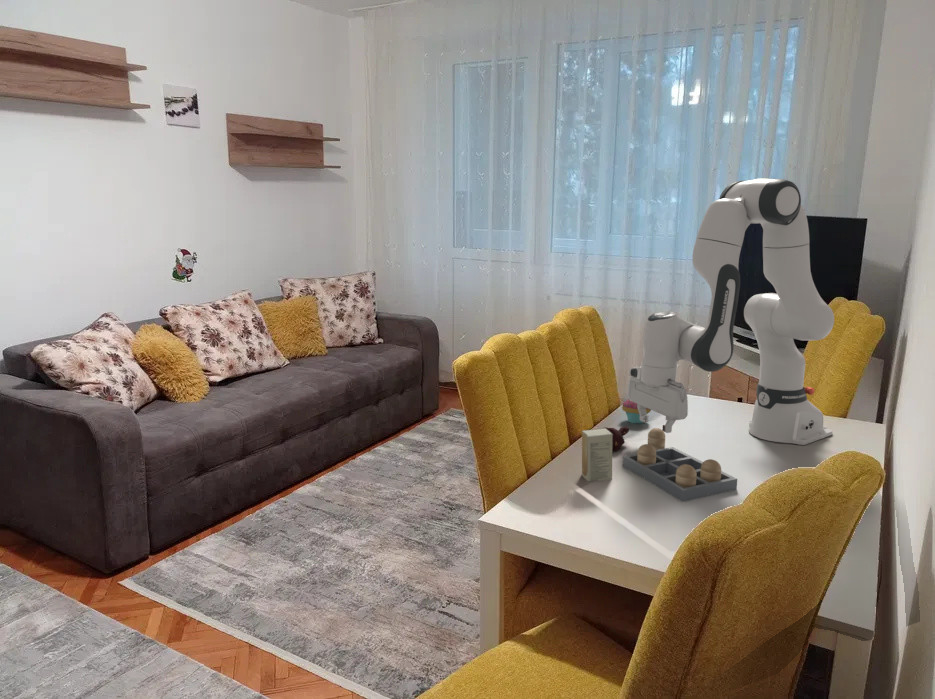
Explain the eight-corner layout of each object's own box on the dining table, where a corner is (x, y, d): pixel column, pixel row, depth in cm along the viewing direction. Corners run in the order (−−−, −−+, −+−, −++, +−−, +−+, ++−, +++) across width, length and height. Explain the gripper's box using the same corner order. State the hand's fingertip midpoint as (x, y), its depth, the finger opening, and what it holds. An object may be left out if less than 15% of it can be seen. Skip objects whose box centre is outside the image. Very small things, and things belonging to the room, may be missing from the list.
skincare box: (605, 476, 161) (607, 427, 159) (612, 483, 157) (614, 433, 155) (580, 478, 160) (581, 429, 158) (586, 485, 156) (587, 435, 154)
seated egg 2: (686, 485, 153) (687, 460, 152) (699, 493, 149) (701, 466, 148) (670, 489, 151) (672, 463, 150) (683, 496, 147) (685, 470, 146)
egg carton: (671, 459, 171) (672, 446, 170) (736, 493, 151) (737, 478, 150) (622, 469, 165) (622, 456, 164) (682, 505, 145) (683, 490, 144)
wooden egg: (657, 446, 180) (658, 424, 179) (668, 452, 176) (669, 429, 175) (643, 449, 178) (644, 427, 177) (654, 454, 174) (655, 432, 173)
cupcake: (632, 415, 207) (634, 377, 204) (656, 421, 200) (658, 382, 198) (616, 421, 201) (617, 382, 198) (640, 427, 195) (642, 388, 192)
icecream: (606, 440, 167) (640, 431, 177) (584, 426, 172) (619, 418, 182) (598, 464, 170) (633, 453, 180) (576, 449, 175) (611, 440, 185)
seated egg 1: (647, 464, 165) (649, 440, 164) (659, 470, 162) (660, 446, 160) (633, 467, 164) (634, 443, 162) (644, 473, 160) (645, 449, 159)
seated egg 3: (710, 480, 155) (712, 455, 154) (724, 487, 151) (726, 461, 150) (695, 483, 154) (697, 458, 152) (709, 491, 150) (710, 465, 148)
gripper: (696, 383, 164) (691, 437, 167) (644, 365, 183) (641, 414, 186) (675, 386, 162) (671, 440, 165) (624, 367, 180) (622, 416, 183)
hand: (655, 426), depth 175 cm, fingers open, 8 cm apart
